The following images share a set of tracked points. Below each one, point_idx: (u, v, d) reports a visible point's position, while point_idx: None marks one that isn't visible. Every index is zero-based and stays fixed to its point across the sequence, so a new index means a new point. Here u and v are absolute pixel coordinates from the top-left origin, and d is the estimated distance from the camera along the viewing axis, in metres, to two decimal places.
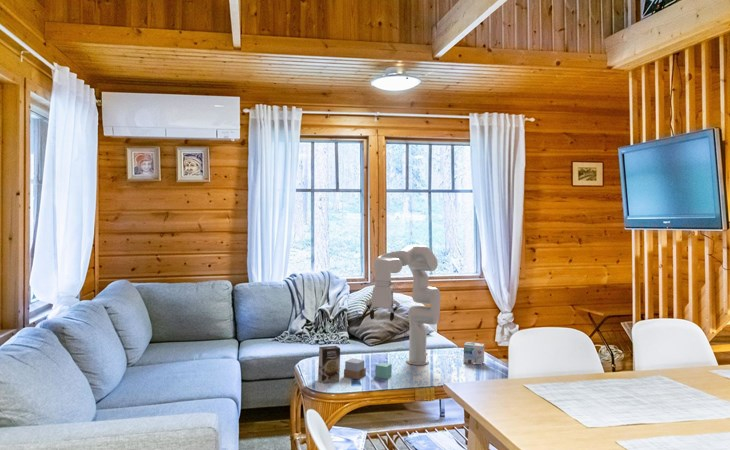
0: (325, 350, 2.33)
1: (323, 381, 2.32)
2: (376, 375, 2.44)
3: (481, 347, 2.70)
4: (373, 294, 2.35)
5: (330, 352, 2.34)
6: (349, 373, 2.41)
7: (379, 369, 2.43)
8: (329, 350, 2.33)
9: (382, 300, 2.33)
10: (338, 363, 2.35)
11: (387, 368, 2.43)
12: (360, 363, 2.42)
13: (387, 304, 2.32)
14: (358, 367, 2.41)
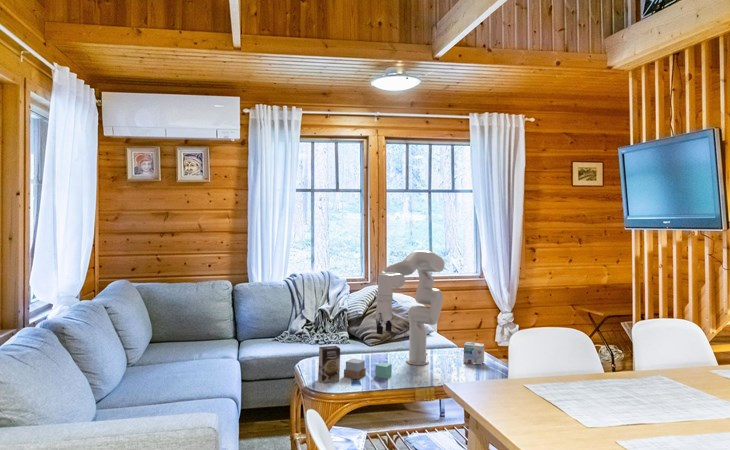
0: (325, 350, 2.33)
1: (323, 381, 2.32)
2: (376, 375, 2.44)
3: (481, 347, 2.70)
4: (385, 309, 2.41)
5: (330, 352, 2.34)
6: (349, 373, 2.41)
7: (379, 369, 2.43)
8: (329, 350, 2.33)
9: (389, 313, 2.45)
10: (338, 363, 2.35)
11: (387, 368, 2.43)
12: (361, 363, 2.43)
13: (391, 316, 2.48)
14: (359, 367, 2.41)
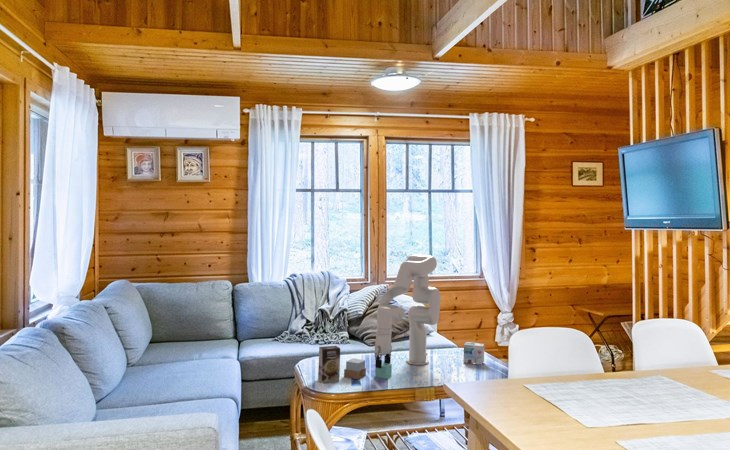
0: (325, 350, 2.33)
1: (323, 381, 2.32)
2: (376, 375, 2.44)
3: (481, 347, 2.70)
4: (384, 343, 2.41)
5: (330, 352, 2.34)
6: (349, 373, 2.41)
7: (379, 369, 2.43)
8: (329, 350, 2.33)
9: (388, 346, 2.45)
10: (338, 363, 2.35)
11: (387, 368, 2.43)
12: (361, 363, 2.43)
13: (390, 349, 2.47)
14: (359, 367, 2.41)
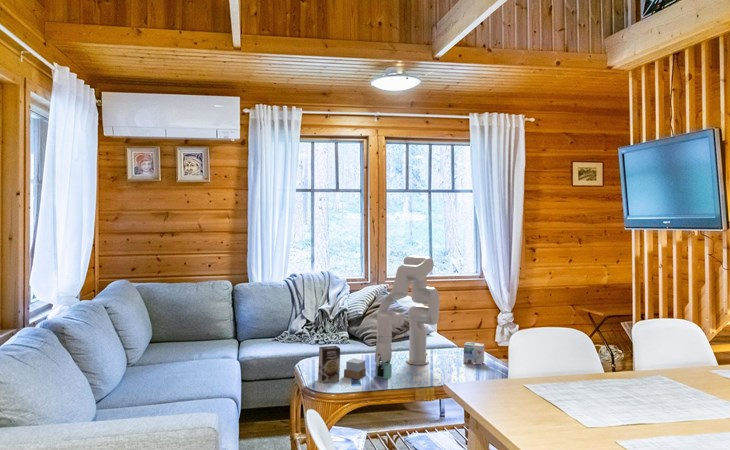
0: (325, 350, 2.33)
1: (323, 381, 2.32)
2: (376, 374, 2.44)
3: (481, 347, 2.70)
4: (384, 350, 2.41)
5: (330, 352, 2.34)
6: (349, 373, 2.41)
7: None
8: (329, 350, 2.33)
9: (388, 354, 2.45)
10: (338, 363, 2.35)
11: (387, 368, 2.43)
12: (361, 363, 2.43)
13: (390, 356, 2.47)
14: (360, 367, 2.41)
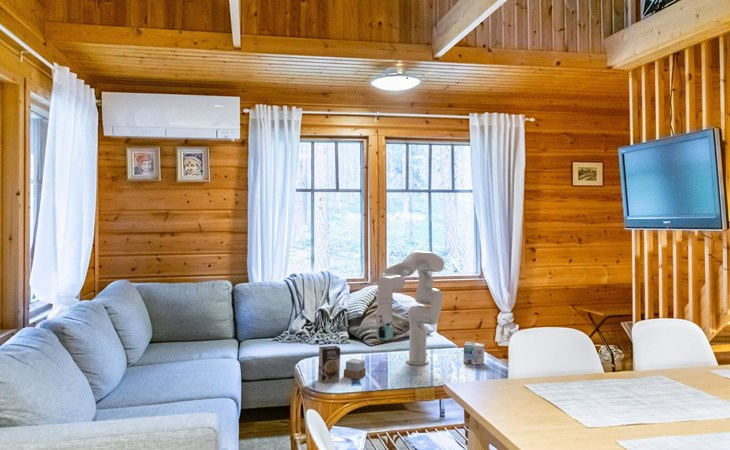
0: (325, 350, 2.33)
1: (323, 381, 2.32)
2: (377, 336, 2.45)
3: (481, 347, 2.70)
4: (385, 312, 2.42)
5: (330, 352, 2.34)
6: (349, 373, 2.41)
7: None
8: (329, 350, 2.33)
9: (389, 315, 2.46)
10: (338, 363, 2.35)
11: (388, 329, 2.43)
12: (361, 363, 2.42)
13: (391, 318, 2.48)
14: (359, 367, 2.41)
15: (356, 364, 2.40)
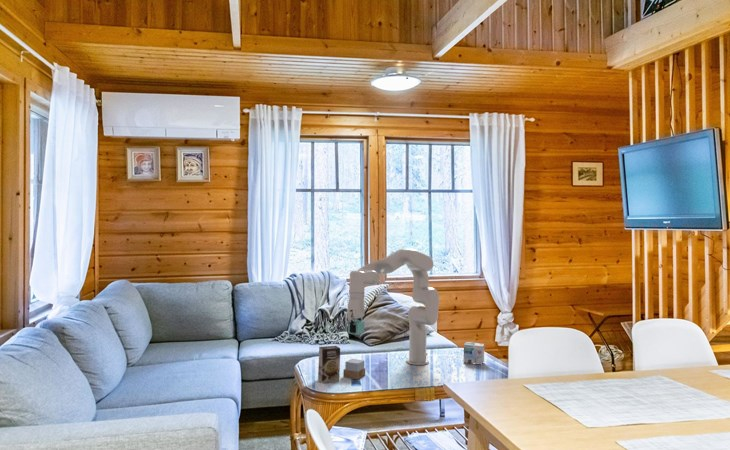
0: (325, 350, 2.33)
1: (323, 381, 2.32)
2: (348, 331, 2.43)
3: (481, 347, 2.70)
4: (356, 306, 2.41)
5: (330, 352, 2.34)
6: (348, 373, 2.41)
7: None
8: (329, 350, 2.33)
9: (361, 310, 2.44)
10: (338, 363, 2.35)
11: (359, 324, 2.42)
12: (360, 363, 2.42)
13: (363, 313, 2.47)
14: (359, 367, 2.41)
15: (356, 364, 2.40)
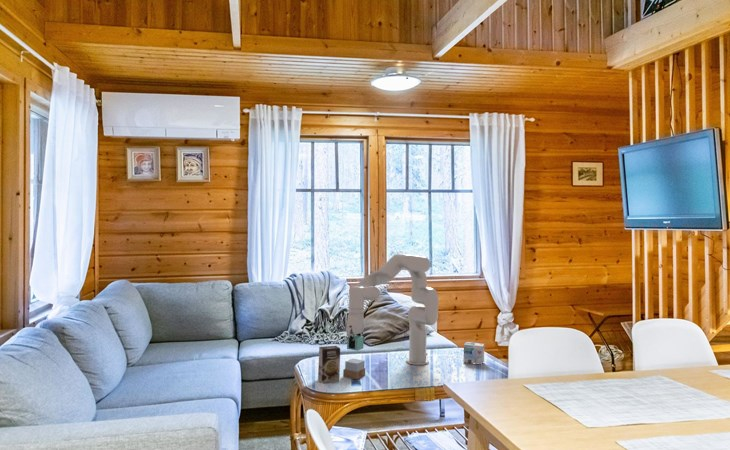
0: (325, 350, 2.33)
1: (323, 381, 2.32)
2: (348, 346, 2.43)
3: (481, 347, 2.70)
4: (355, 322, 2.40)
5: (330, 352, 2.34)
6: (348, 373, 2.42)
7: None
8: (329, 350, 2.33)
9: (360, 326, 2.44)
10: (338, 363, 2.35)
11: (359, 340, 2.42)
12: (360, 363, 2.42)
13: (362, 329, 2.46)
14: (358, 367, 2.41)
15: (355, 364, 2.40)
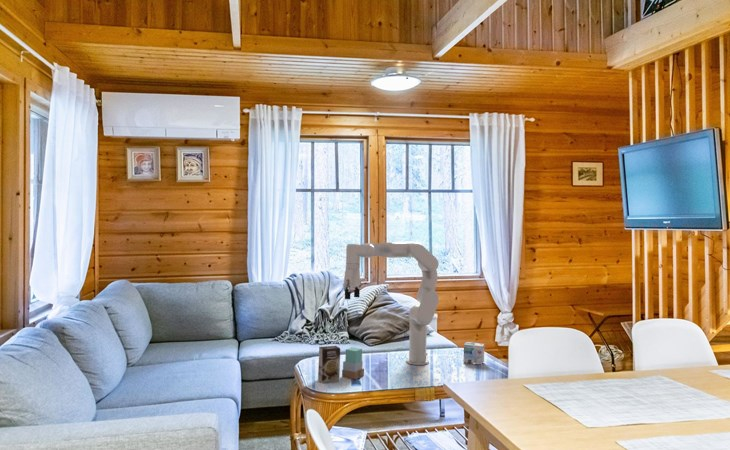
0: (325, 350, 2.33)
1: (323, 381, 2.32)
2: (346, 359, 2.43)
3: (481, 347, 2.70)
4: (352, 276, 2.61)
5: (330, 352, 2.34)
6: (347, 373, 2.41)
7: (349, 353, 2.42)
8: (329, 350, 2.33)
9: (357, 280, 2.64)
10: (338, 363, 2.35)
11: (357, 352, 2.42)
12: (358, 363, 2.42)
13: (358, 283, 2.67)
14: (356, 367, 2.41)
15: (353, 364, 2.40)
